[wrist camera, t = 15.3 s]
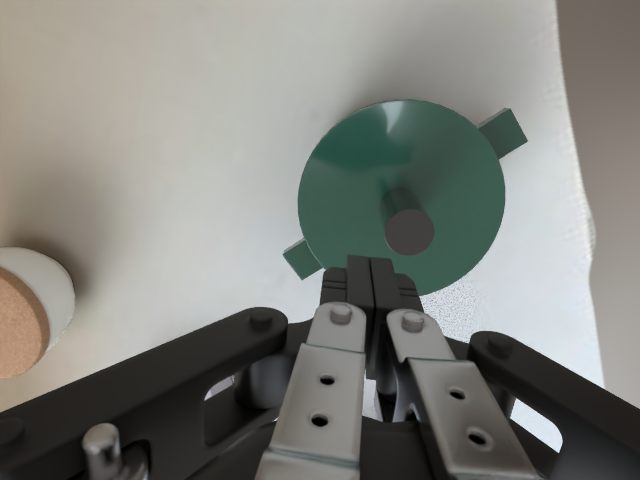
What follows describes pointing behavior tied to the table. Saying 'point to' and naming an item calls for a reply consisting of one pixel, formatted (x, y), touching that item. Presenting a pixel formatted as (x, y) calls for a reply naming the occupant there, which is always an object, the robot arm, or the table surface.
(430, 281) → the lid
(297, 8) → the table surface
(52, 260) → the trinket box
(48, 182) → the table surface
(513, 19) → the table surface
